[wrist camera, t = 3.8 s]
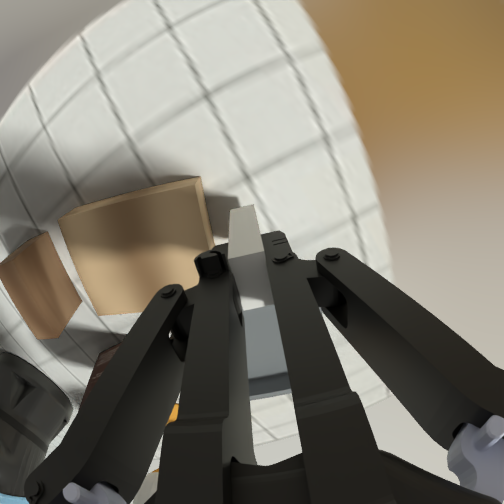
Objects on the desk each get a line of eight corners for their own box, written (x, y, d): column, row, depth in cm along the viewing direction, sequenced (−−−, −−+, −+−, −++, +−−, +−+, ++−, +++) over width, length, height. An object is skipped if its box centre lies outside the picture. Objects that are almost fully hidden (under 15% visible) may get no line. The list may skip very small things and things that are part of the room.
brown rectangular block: (61, 305, 21) (37, 339, 16) (28, 240, 18) (-6, 267, 13) (82, 301, 21) (58, 337, 16) (47, 231, 18) (12, 259, 13)
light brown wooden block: (111, 294, 21) (98, 315, 18) (77, 206, 17) (57, 219, 15) (223, 278, 21) (222, 302, 18) (201, 175, 17) (194, 184, 15)
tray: (220, 385, 26) (219, 404, 24) (178, 300, 21) (172, 321, 19) (320, 366, 26) (326, 384, 23) (311, 272, 20) (319, 290, 18)
